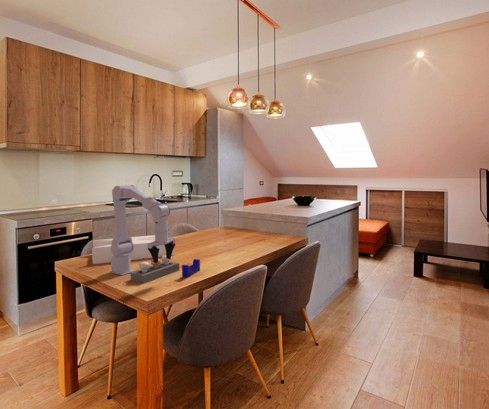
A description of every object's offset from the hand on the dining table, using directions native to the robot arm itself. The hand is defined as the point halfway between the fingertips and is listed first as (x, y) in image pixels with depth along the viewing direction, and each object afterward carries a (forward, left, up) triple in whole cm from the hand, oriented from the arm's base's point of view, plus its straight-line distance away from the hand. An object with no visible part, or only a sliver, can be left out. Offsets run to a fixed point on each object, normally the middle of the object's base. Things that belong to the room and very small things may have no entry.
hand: (162, 260), depth 144 cm
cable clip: (+3, +16, -10) cm, 19 cm away
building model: (-51, +25, -11) cm, 57 cm away
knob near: (-11, -1, -7) cm, 13 cm away
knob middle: (-11, +6, -7) cm, 14 cm away
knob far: (-11, +13, -7) cm, 18 cm away
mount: (-11, +6, -10) cm, 16 cm away
